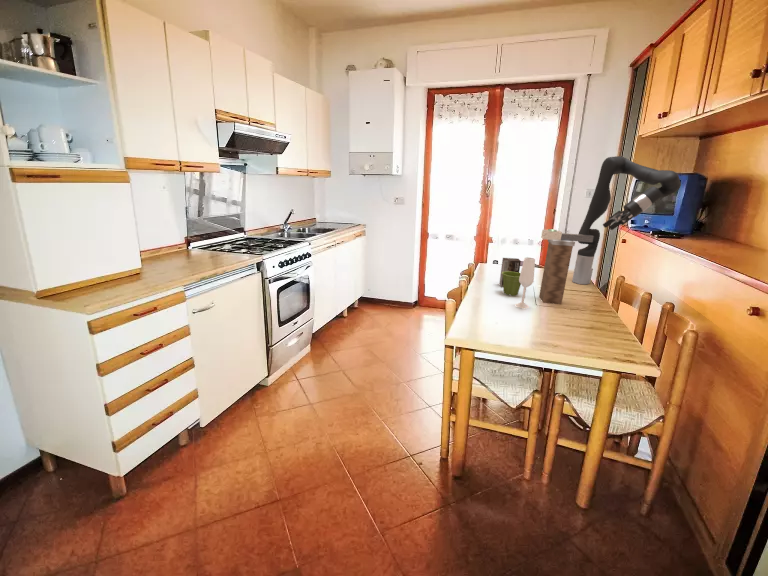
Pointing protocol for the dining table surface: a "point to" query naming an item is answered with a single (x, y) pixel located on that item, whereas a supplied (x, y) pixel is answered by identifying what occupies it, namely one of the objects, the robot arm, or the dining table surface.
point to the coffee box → (509, 267)
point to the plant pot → (511, 283)
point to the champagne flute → (526, 278)
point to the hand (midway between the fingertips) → (607, 227)
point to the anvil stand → (555, 271)
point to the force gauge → (565, 236)
